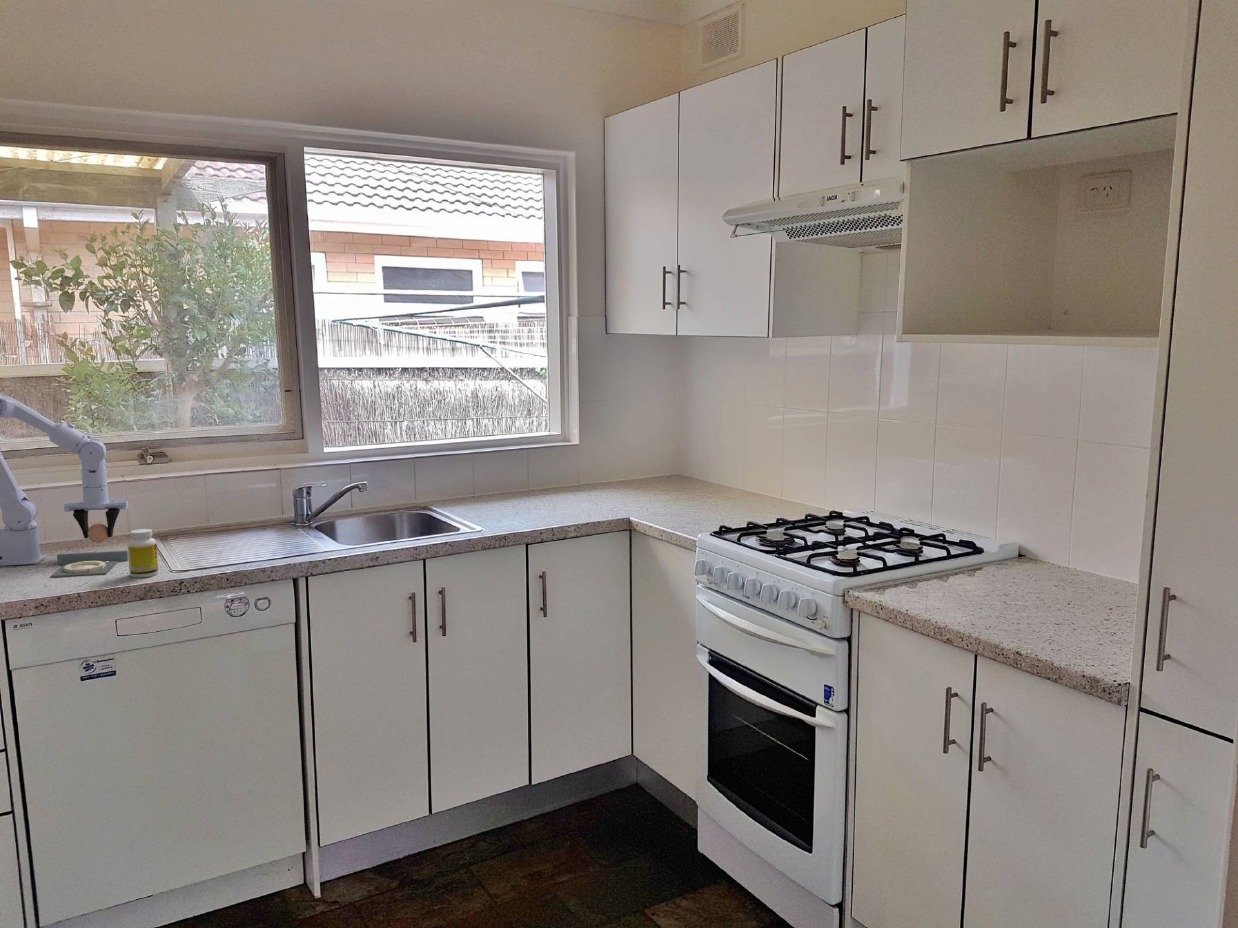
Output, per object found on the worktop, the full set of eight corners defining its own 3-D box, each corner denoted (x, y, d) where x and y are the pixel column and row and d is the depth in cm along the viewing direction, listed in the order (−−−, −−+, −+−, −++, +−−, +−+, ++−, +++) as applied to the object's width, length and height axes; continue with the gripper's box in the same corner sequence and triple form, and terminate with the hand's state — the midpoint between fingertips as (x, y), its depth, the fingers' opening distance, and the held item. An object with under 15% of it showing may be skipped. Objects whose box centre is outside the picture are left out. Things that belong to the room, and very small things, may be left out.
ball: (85, 544, 238) (84, 526, 238) (90, 540, 243) (89, 522, 242) (107, 543, 240) (106, 525, 239) (111, 539, 244) (110, 521, 244)
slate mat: (50, 577, 220) (50, 572, 220) (64, 565, 232) (64, 560, 231) (106, 574, 224) (105, 569, 224) (117, 562, 235) (117, 557, 235)
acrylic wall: (57, 564, 233) (56, 555, 232) (58, 563, 233) (58, 554, 233) (127, 560, 237) (126, 551, 237) (128, 559, 238) (127, 550, 238)
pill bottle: (162, 574, 224) (159, 530, 222) (135, 579, 219) (132, 534, 218) (152, 570, 228) (149, 526, 226) (125, 575, 223) (122, 530, 222)
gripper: (129, 482, 245) (132, 532, 247) (68, 484, 241) (71, 535, 243) (123, 486, 238) (126, 537, 240) (60, 489, 234) (64, 540, 236)
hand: (98, 536), depth 241 cm, fingers closed on ball, 5 cm apart
